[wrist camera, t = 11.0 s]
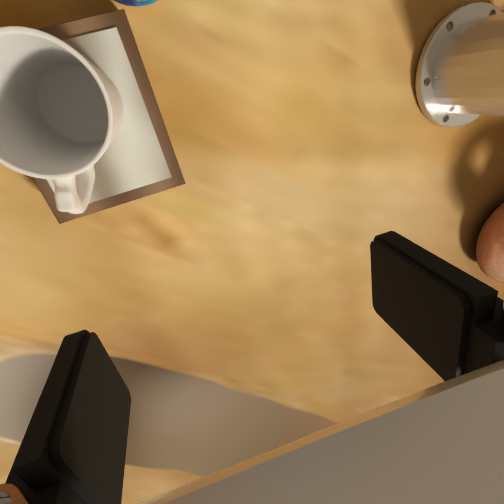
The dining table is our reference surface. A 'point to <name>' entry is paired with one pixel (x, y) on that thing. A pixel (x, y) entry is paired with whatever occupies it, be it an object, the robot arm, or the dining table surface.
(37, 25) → the dining table surface
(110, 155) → the walnut picture frame
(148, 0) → the beverage bottle
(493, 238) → the ceramic jug
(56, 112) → the mug
